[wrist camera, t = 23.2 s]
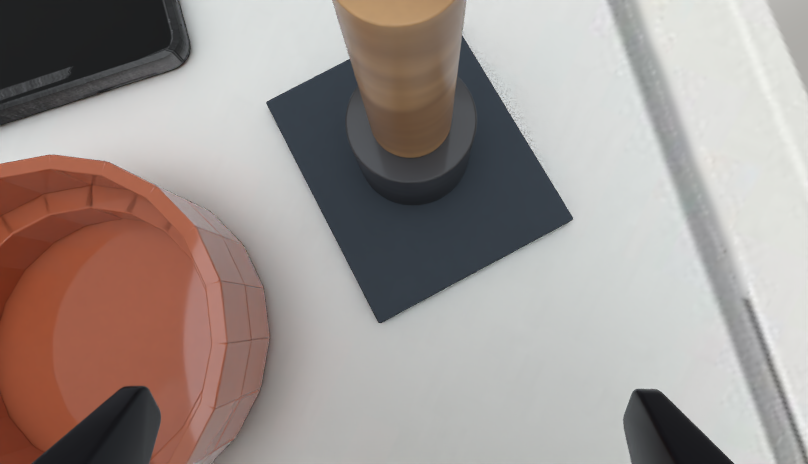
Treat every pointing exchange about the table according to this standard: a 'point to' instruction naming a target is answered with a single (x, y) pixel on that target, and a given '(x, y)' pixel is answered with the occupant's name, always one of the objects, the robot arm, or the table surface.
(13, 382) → the bowl
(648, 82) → the table surface
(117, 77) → the phone
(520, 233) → the mat
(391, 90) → the wooden peg on base
